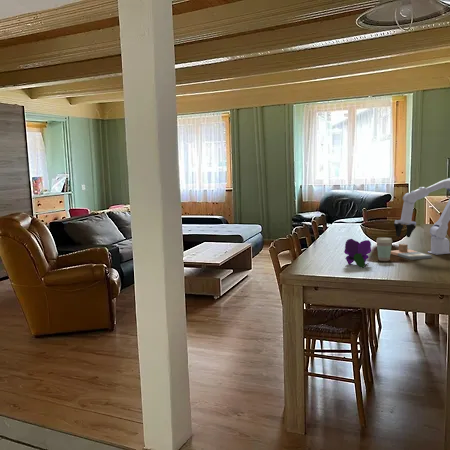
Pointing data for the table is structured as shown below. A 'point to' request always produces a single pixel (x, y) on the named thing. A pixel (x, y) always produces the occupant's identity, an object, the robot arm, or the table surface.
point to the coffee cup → (384, 248)
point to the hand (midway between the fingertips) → (403, 236)
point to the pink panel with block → (402, 249)
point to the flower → (357, 251)
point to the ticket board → (414, 255)
